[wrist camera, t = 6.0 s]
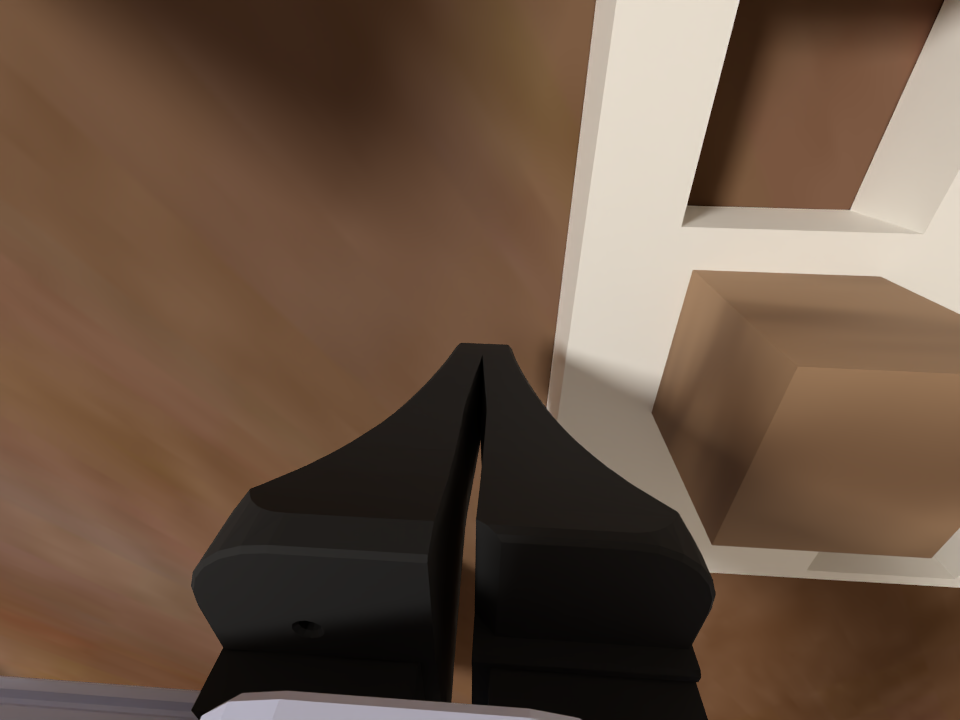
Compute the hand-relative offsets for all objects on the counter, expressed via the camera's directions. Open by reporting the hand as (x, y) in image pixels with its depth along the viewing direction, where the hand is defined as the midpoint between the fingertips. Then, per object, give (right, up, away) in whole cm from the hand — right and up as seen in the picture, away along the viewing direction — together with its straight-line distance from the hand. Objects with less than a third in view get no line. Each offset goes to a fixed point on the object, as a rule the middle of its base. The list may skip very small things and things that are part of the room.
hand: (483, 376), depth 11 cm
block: (+7, +1, 0) cm, 7 cm away
